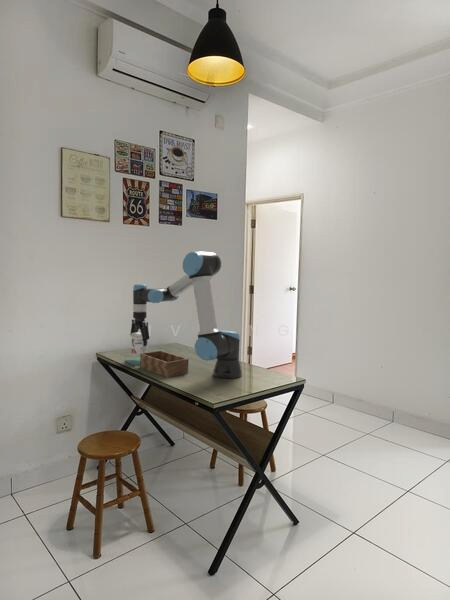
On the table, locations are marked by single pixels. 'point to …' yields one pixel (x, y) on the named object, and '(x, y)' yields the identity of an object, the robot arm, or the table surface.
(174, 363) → the crate
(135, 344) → the ink box
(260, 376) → the table surface
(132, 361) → the zone mat
